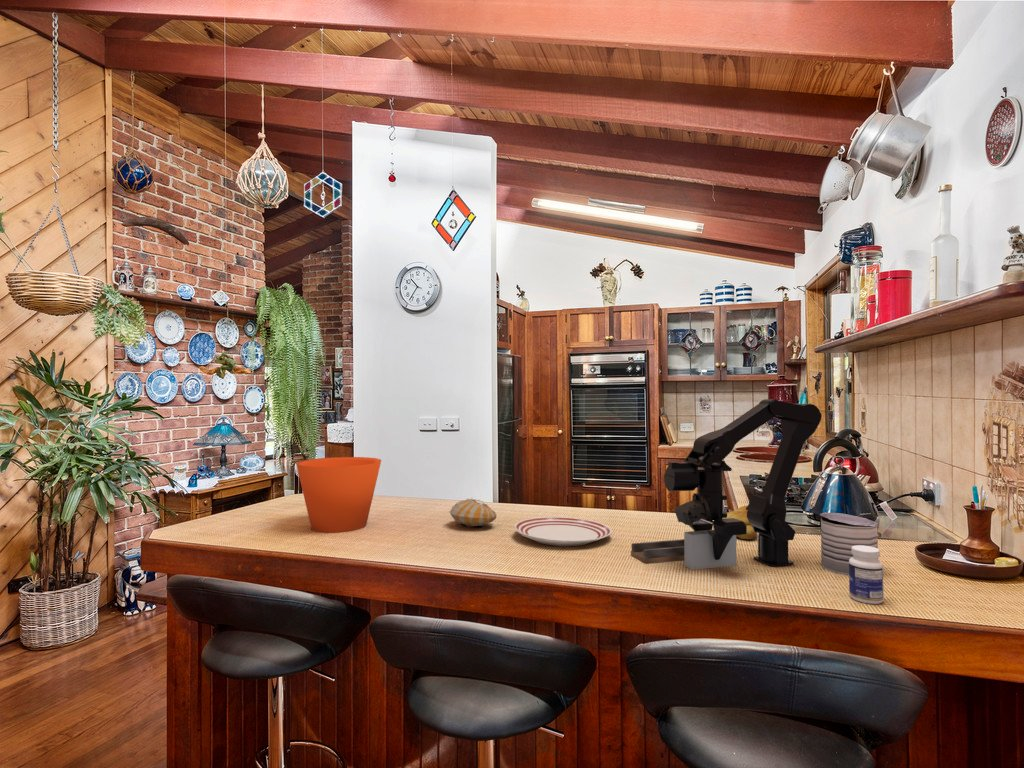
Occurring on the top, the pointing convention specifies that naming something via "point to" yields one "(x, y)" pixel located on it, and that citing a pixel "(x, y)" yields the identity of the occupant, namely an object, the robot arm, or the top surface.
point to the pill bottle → (866, 575)
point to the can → (844, 539)
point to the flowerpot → (338, 491)
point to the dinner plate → (562, 530)
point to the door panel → (706, 551)
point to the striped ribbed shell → (472, 513)
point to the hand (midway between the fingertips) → (710, 556)
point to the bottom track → (658, 551)
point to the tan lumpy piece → (742, 515)
